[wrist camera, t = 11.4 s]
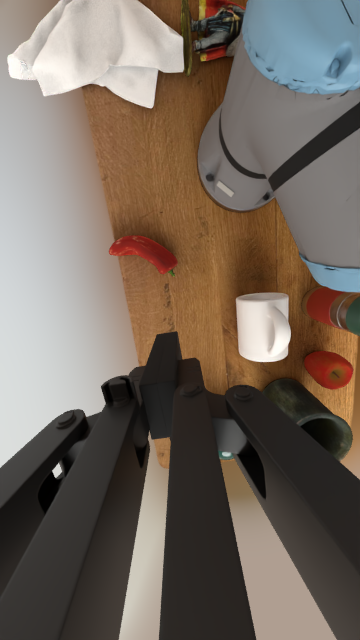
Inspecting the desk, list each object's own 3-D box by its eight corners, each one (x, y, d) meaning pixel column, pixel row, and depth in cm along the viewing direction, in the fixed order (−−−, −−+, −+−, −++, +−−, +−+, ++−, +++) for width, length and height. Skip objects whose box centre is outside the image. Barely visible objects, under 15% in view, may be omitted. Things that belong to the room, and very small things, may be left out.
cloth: (193, -8, 27) (193, -32, 25) (178, 117, 31) (177, 105, 29) (4, -35, 27) (-12, -61, 25) (11, 92, 31) (-2, 79, 29)
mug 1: (233, 346, 41) (256, 377, 29) (230, 296, 38) (253, 307, 27) (274, 341, 41) (313, 370, 29) (274, 290, 38) (316, 299, 27)
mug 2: (310, 375, 43) (360, 414, 31) (299, 432, 46) (340, 487, 35) (260, 374, 42) (291, 414, 31) (252, 432, 46) (277, 487, 34)
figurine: (182, -37, 24) (277, -38, 25) (179, 25, 30) (257, 23, 30) (190, 37, 25) (283, 35, 26) (185, 86, 30) (263, 82, 31)
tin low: (309, 282, 38) (348, 285, 29) (339, 291, 38) (387, 297, 30) (295, 313, 39) (329, 326, 31) (325, 322, 40) (366, 337, 31)
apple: (313, 338, 41) (343, 353, 33) (333, 356, 42) (366, 374, 34) (290, 360, 42) (314, 379, 35) (310, 377, 43) (337, 399, 36)
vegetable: (170, 284, 38) (110, 254, 36) (183, 257, 37) (122, 225, 35) (170, 285, 34) (102, 251, 32) (185, 256, 33) (115, 219, 31)
